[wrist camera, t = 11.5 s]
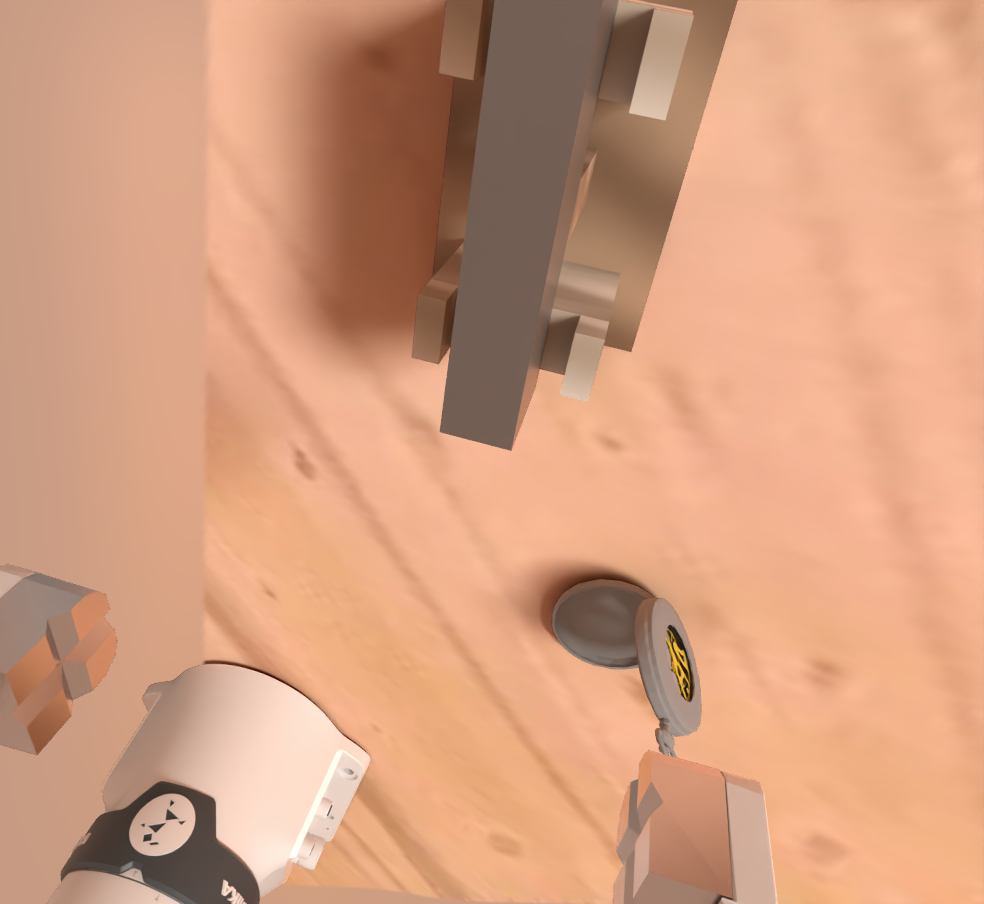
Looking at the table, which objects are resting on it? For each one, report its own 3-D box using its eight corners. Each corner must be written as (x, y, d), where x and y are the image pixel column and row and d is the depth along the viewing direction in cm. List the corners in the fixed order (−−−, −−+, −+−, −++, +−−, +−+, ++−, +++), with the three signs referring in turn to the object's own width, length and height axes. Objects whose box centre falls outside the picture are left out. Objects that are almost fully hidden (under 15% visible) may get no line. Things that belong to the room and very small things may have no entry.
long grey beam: (535, 386, 26) (511, 450, 22) (471, 370, 26) (436, 431, 22) (627, -38, 18) (612, -44, 15) (534, -54, 18) (498, -65, 15)
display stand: (632, 342, 30) (618, 430, 24) (436, 294, 31) (375, 368, 25) (739, -12, 23) (758, -12, 17) (476, -61, 24) (403, -78, 18)
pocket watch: (534, 621, 41) (497, 775, 33) (609, 534, 36) (587, 689, 28) (651, 683, 42) (642, 850, 34) (740, 606, 37) (755, 779, 29)
